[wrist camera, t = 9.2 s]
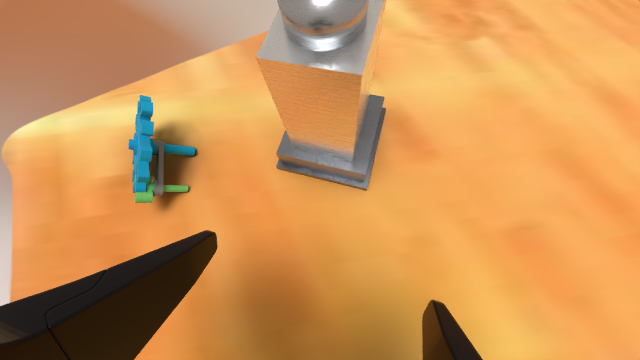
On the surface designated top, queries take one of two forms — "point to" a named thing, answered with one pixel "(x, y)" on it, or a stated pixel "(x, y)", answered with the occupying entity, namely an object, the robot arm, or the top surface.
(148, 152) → the gear
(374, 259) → the top surface
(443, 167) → the top surface
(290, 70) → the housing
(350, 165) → the stand
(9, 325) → the robot arm
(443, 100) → the top surface
